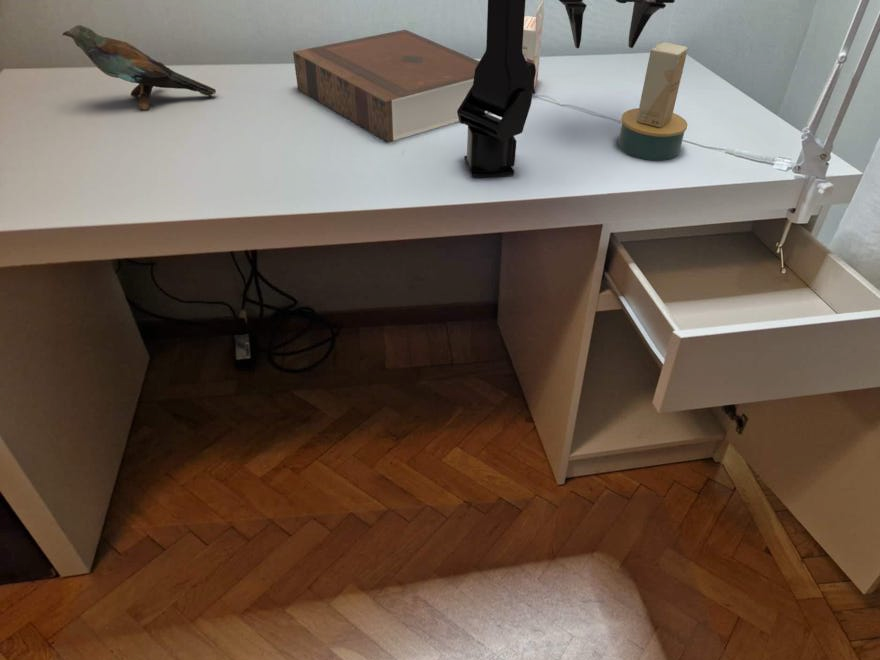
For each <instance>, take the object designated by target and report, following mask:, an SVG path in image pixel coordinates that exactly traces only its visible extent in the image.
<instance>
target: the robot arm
mask: <svg viewBox="0 0 880 660" xmlns="http://www.w3.org/2000/svg"><path fill="white" fill-rule="evenodd" d="M558 1H559V3H561V4H562V5H563V6H564V8H565V11H566V14H567V17H568V21H569V24H570V30H571V35H572V39H573V44H574V47H575V48H576V49H580V46H581V41H582V33H583V32H582V31H583V22H584V21H583V20H584V14H585V11H586V8H587V4H586V3H585V2H584V0H558ZM615 1H616V3H619V4H626V3H633V8H632V14H631V21H630V26H629V32H628V48H630V49H633V48H634V46H635V45H636V43H637V42H638V39H639V37H640V36H641V34H642V32H643V30H644V29H645V27H646V25H647V23H648V22H649V20H651V18H652V16H653V15H654V14H656V12H657V11H659V10H660V9H663V10H664V9H665V8H666V6H667V4H674V3H675V2H676V0H615ZM525 14H526V0H487V13H486V15H487V17H486V22H487V23H486V41H485V42H486V44H485V45H486V47H485V51H484V53H483V55H482V56H481V58H480V59H479V60H478V61H479V63H478V65H477V66H476V68H475V74H474V81H473V86H472V87H471V89H470V91H469V92H468V94H467V95H466V97H465V99H464V100H463V102H462V104H461V105H460V107H459V109H458V110H457V114H458V118H459V121H458V122H459V123H460V124H462V125H465V126H467V138H466V139H467V140H466V141H467V142H466V155H464V156H463V161H464V163H465V165H466V167H467V170H468V172H469V174H470V176H471V177H472V178H487V177H490V178H491V177H503V176H504V177H506V176H513V175H514V174H515V169H514V168H513V167H514V166H515V164H516V152H517V139H516V136H518V135H520V134H522V133H523V132H524V128H525V126H526V122H527V119H528V115H529V113H530V109H531V105H532V101H533V100H532V99H533V95H534V94H536V90H535V88H534V80H535V74H536V67H535V64H534V63H531V62H528V61H526V60H525V58H524V55H523V52H522V46H523V31H524V16H526V15H525ZM532 93H533V94H532ZM485 111H487V112H488V113H485ZM489 113H490V114H489ZM492 114H493V115H495V116H493V115H492ZM496 116H497V117H496Z"/></svg>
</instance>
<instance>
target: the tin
mask: <svg viewBox="0 0 880 660" xmlns="http://www.w3.org/2000/svg"><path fill="white" fill-rule="evenodd" d="M638 111H639V107H637V108H632V109H628V110H626V111H624V112H623V113H622V115H621V120H620V121H621V126H620V132H619V136H618V142H617V145H618V148H619V149H620V150H621V151H622V152H624V153H625V154H627V155H628V156H631V157H634V158H637V159H641V160H647V161H667V160H671V159H675V158H676V157H677V156H678V155H679V154H680V152H681V149H682V144H683V139H684V135H685V132H686V131H687V129H688V122H687V120H686V119H685V118H683V117H682V116H681V115H679V114H677V113H674V112H673V114H672V118H671V120H670V121H669V122H667V123H666V124H665V125H664V126H663V127H661V128H660V127H656V126H652V125H648V124H644V123H640V122H637V116H638Z"/></svg>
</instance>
